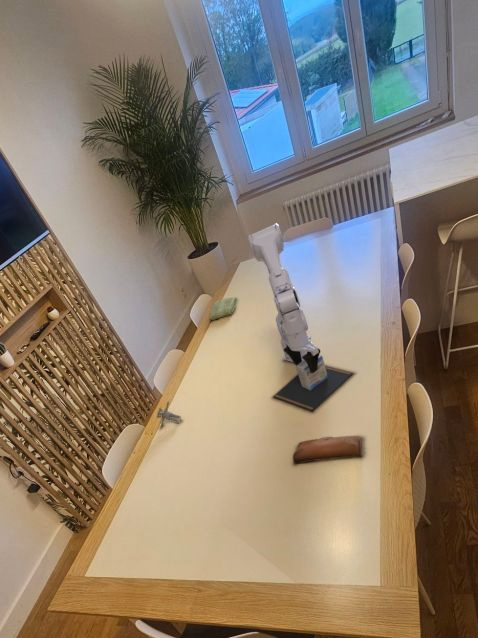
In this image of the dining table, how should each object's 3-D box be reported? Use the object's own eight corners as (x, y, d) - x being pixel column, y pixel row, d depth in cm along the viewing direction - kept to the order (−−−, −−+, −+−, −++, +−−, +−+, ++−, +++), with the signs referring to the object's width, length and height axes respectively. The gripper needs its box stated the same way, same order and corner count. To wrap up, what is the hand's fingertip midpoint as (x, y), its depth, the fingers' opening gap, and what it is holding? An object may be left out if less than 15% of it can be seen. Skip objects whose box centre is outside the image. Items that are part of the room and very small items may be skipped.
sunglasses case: (361, 434, 112) (357, 427, 106) (363, 459, 110) (360, 453, 104) (297, 442, 119) (290, 436, 113) (298, 466, 117) (291, 461, 111)
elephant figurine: (172, 432, 147) (151, 425, 150) (180, 433, 153) (159, 426, 155) (180, 405, 145) (158, 398, 148) (187, 407, 151) (166, 400, 154)
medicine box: (310, 391, 133) (303, 369, 128) (301, 387, 137) (294, 365, 131) (328, 377, 135) (322, 355, 129) (319, 374, 138) (313, 352, 133)
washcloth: (238, 298, 209) (235, 292, 207) (233, 315, 197) (231, 309, 195) (214, 306, 214) (212, 300, 212) (209, 322, 202) (206, 317, 199)
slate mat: (273, 397, 139) (272, 396, 139) (312, 363, 145) (311, 362, 145) (312, 412, 127) (311, 410, 126) (353, 373, 132) (352, 372, 132)
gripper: (321, 327, 118) (331, 366, 127) (290, 318, 128) (301, 355, 137) (303, 341, 116) (314, 379, 125) (273, 331, 127) (285, 367, 136)
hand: (306, 368), depth 131 cm, fingers open, 7 cm apart
